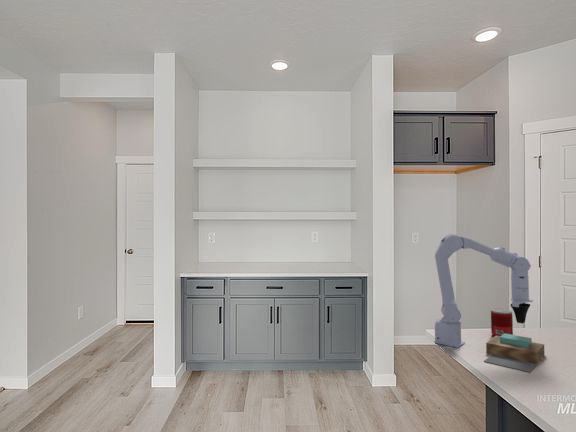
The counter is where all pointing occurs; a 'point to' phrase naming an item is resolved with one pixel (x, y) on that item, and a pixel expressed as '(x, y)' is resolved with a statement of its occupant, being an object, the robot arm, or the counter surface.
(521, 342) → the teal rectangular block
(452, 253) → the robot arm
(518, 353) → the board
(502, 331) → the canned food
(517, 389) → the counter surface
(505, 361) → the mat
